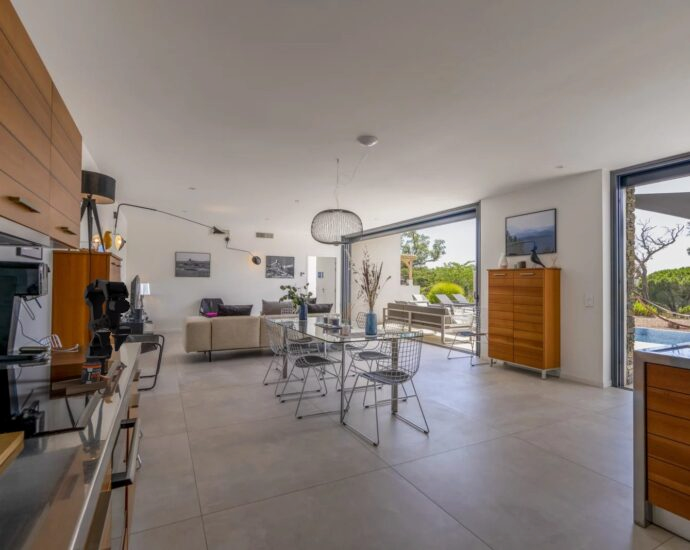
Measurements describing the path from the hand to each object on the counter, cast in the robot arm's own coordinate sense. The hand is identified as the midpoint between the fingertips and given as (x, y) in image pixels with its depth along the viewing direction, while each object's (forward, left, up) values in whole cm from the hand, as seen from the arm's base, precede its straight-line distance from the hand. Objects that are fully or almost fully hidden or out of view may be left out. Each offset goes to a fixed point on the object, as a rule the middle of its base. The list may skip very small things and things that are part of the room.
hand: (109, 350), depth 149 cm
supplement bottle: (+6, -9, -12) cm, 16 cm away
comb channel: (+6, -13, -12) cm, 19 cm away
